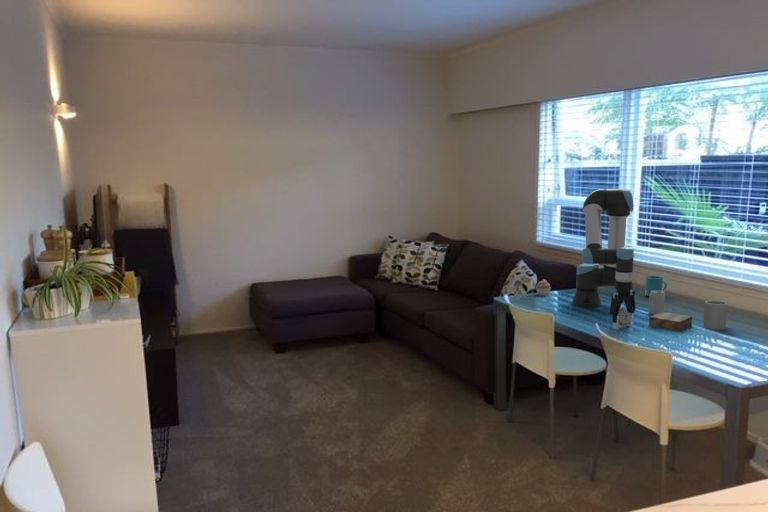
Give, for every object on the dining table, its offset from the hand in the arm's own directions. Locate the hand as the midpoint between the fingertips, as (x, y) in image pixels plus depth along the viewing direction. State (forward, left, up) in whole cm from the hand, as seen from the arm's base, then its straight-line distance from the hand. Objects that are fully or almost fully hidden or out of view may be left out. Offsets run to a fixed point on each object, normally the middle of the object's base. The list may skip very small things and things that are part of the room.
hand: (621, 327), depth 282 cm
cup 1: (-35, +74, -1) cm, 82 cm away
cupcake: (-73, +22, -1) cm, 76 cm away
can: (-8, +37, -1) cm, 38 cm away
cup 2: (+23, +36, -1) cm, 43 cm away
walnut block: (+10, +22, -1) cm, 24 cm away
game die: (0, 0, -1) cm, 1 cm away
